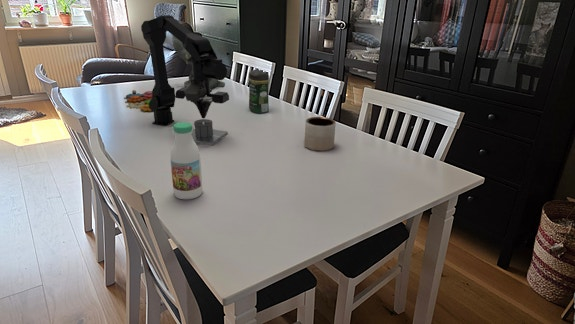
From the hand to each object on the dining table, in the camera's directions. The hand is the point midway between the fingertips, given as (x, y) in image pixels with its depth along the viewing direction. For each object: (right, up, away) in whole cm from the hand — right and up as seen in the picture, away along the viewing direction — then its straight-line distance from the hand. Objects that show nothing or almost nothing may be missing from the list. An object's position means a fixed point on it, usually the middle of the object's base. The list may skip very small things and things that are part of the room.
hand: (203, 118), depth 142 cm
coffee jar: (+18, +7, +36) cm, 41 cm away
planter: (+42, -11, -1) cm, 44 cm away
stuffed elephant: (-17, +25, +72) cm, 78 cm away
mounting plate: (0, -7, +3) cm, 8 cm away
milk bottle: (+4, -25, -36) cm, 44 cm away
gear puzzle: (-37, +11, +41) cm, 57 cm away
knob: (0, -6, +3) cm, 7 cm away
